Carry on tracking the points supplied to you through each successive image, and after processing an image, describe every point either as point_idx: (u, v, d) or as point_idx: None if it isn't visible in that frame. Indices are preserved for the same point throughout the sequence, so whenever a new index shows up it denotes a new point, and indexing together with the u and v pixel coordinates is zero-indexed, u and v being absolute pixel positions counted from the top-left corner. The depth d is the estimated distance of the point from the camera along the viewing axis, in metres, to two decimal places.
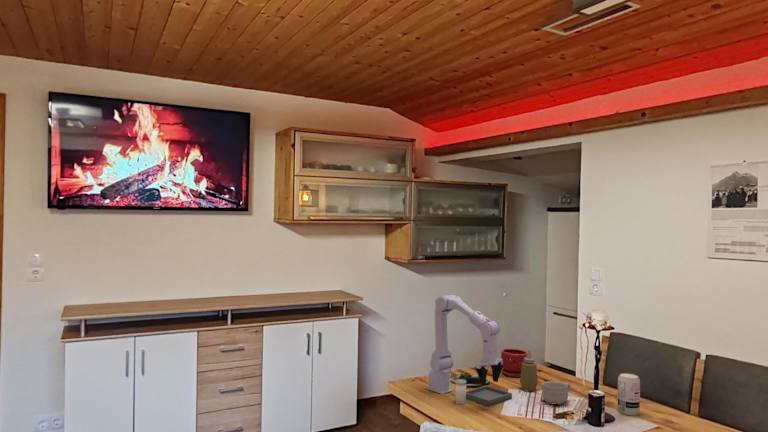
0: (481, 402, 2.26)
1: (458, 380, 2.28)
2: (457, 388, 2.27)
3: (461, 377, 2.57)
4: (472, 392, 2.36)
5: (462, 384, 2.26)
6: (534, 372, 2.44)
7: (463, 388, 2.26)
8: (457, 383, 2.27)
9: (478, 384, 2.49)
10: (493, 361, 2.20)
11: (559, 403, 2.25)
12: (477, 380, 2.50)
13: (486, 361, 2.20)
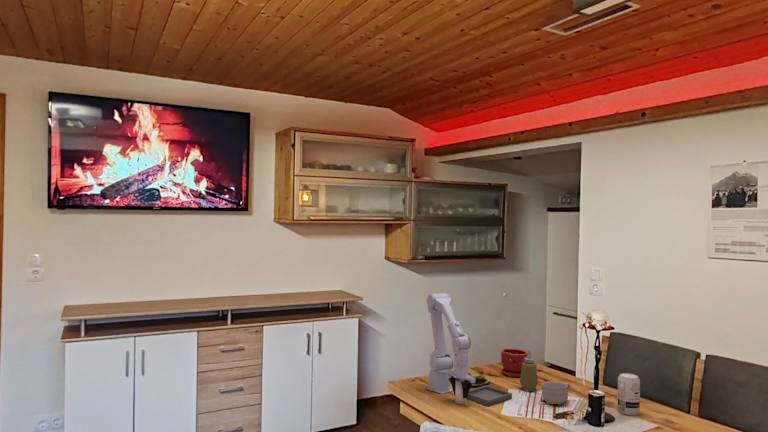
0: (481, 402, 2.26)
1: (458, 380, 2.28)
2: (457, 388, 2.27)
3: None
4: (472, 392, 2.36)
5: None
6: (534, 372, 2.44)
7: None
8: (457, 383, 2.27)
9: (478, 384, 2.49)
10: (455, 374, 2.27)
11: (559, 403, 2.25)
12: (477, 380, 2.50)
13: None
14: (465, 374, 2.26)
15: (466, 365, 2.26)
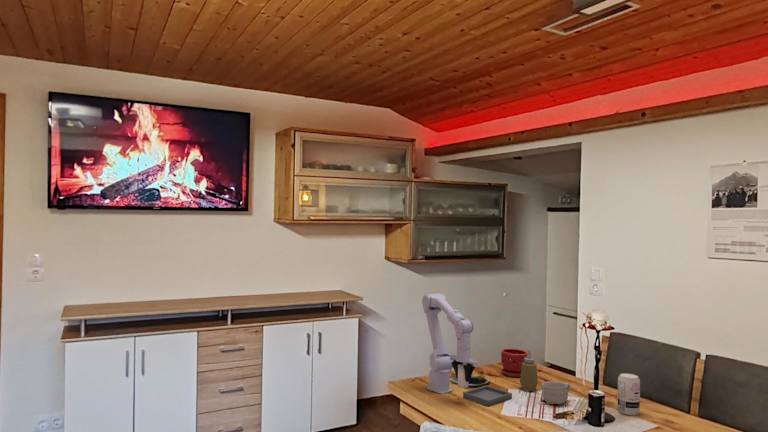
0: (481, 402, 2.26)
1: (460, 364, 2.29)
2: (459, 372, 2.27)
3: None
4: (472, 392, 2.36)
5: None
6: (534, 372, 2.44)
7: None
8: (459, 367, 2.27)
9: (478, 384, 2.49)
10: (457, 357, 2.28)
11: (559, 403, 2.25)
12: (477, 380, 2.50)
13: None
14: (467, 358, 2.26)
15: (468, 349, 2.27)
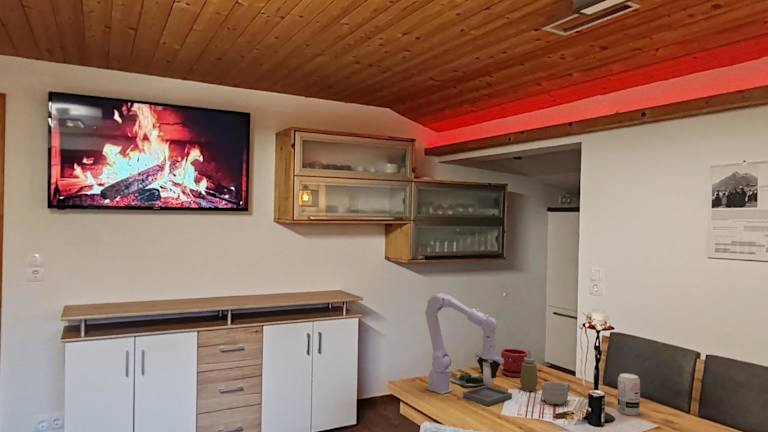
0: (481, 402, 2.26)
1: (485, 362, 2.34)
2: (485, 369, 2.32)
3: (461, 377, 2.57)
4: (472, 392, 2.36)
5: None
6: (534, 372, 2.44)
7: None
8: (485, 365, 2.32)
9: (478, 384, 2.49)
10: (483, 355, 2.33)
11: (559, 403, 2.25)
12: (477, 380, 2.50)
13: None
14: (493, 355, 2.32)
15: (494, 346, 2.32)
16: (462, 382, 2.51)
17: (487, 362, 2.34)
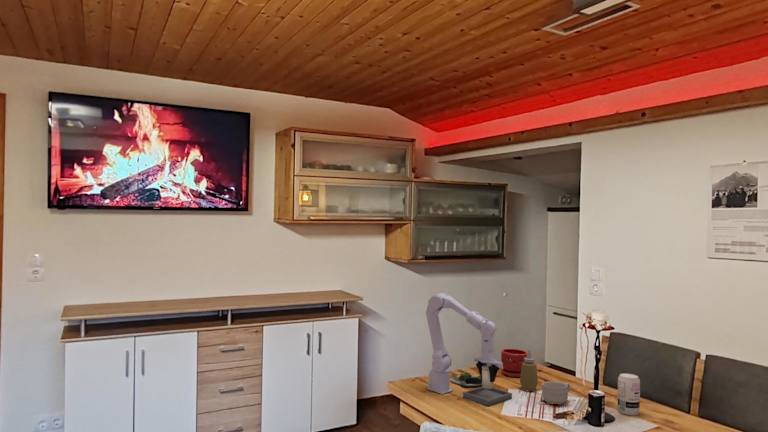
0: (481, 402, 2.26)
1: (484, 366, 2.34)
2: (484, 373, 2.32)
3: (461, 377, 2.57)
4: (472, 392, 2.36)
5: (488, 369, 2.31)
6: (534, 372, 2.44)
7: None
8: (484, 368, 2.32)
9: (478, 384, 2.49)
10: (482, 359, 2.32)
11: (559, 403, 2.25)
12: (477, 380, 2.50)
13: None
14: (492, 359, 2.31)
15: (493, 350, 2.32)
16: (462, 382, 2.51)
17: (486, 366, 2.33)
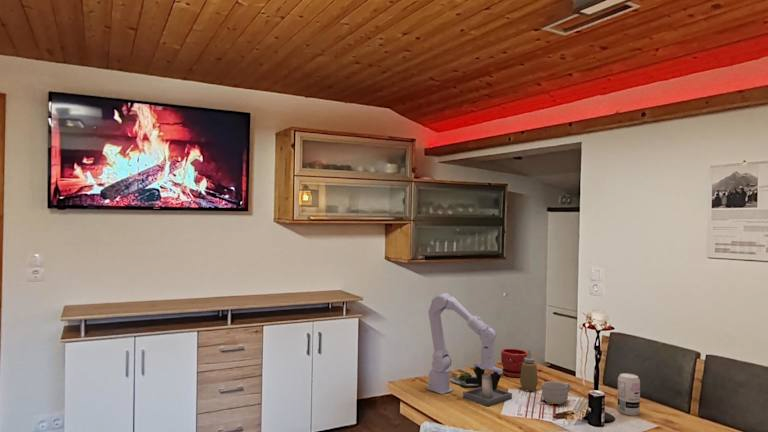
0: (481, 402, 2.26)
1: (485, 374, 2.34)
2: (484, 382, 2.32)
3: (461, 377, 2.57)
4: (472, 392, 2.36)
5: (489, 378, 2.31)
6: (534, 372, 2.44)
7: (490, 382, 2.31)
8: (484, 377, 2.32)
9: (478, 384, 2.49)
10: (482, 365, 2.32)
11: (559, 403, 2.25)
12: (477, 380, 2.50)
13: None
14: (492, 365, 2.31)
15: (493, 357, 2.32)
16: (462, 382, 2.51)
17: (486, 375, 2.33)
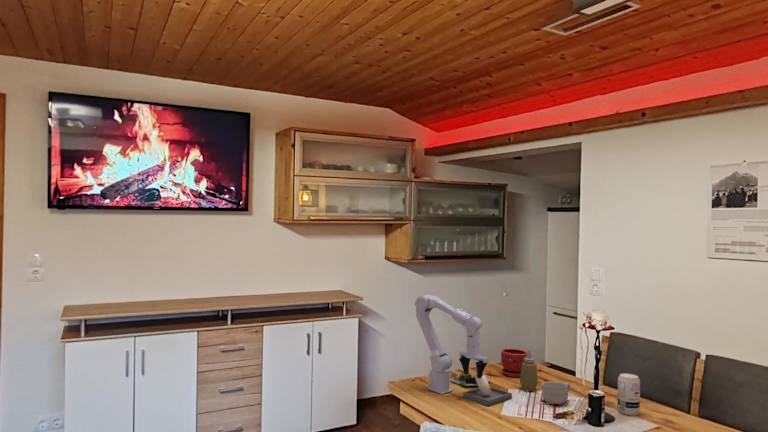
0: (481, 402, 2.26)
1: (476, 374, 2.36)
2: (478, 381, 2.34)
3: (461, 377, 2.57)
4: (472, 392, 2.36)
5: None
6: (534, 372, 2.44)
7: (483, 378, 2.33)
8: (476, 376, 2.34)
9: None
10: (467, 354, 2.34)
11: (559, 403, 2.25)
12: None
13: None
14: (477, 354, 2.33)
15: (478, 346, 2.33)
16: (462, 382, 2.51)
17: None
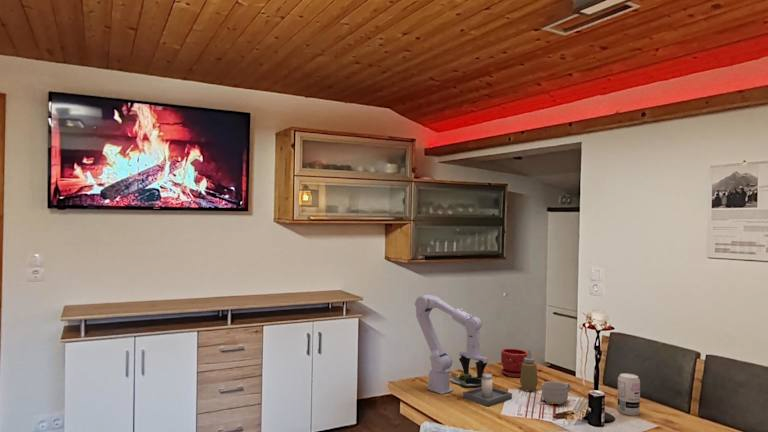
0: (481, 402, 2.26)
1: (484, 374, 2.34)
2: (483, 382, 2.32)
3: (461, 377, 2.57)
4: (472, 392, 2.36)
5: (488, 378, 2.31)
6: (534, 372, 2.44)
7: (490, 382, 2.31)
8: (483, 377, 2.32)
9: (478, 384, 2.49)
10: (467, 354, 2.34)
11: (559, 403, 2.25)
12: (477, 380, 2.50)
13: None
14: (477, 354, 2.33)
15: (478, 346, 2.33)
16: (462, 382, 2.51)
17: (486, 375, 2.33)
